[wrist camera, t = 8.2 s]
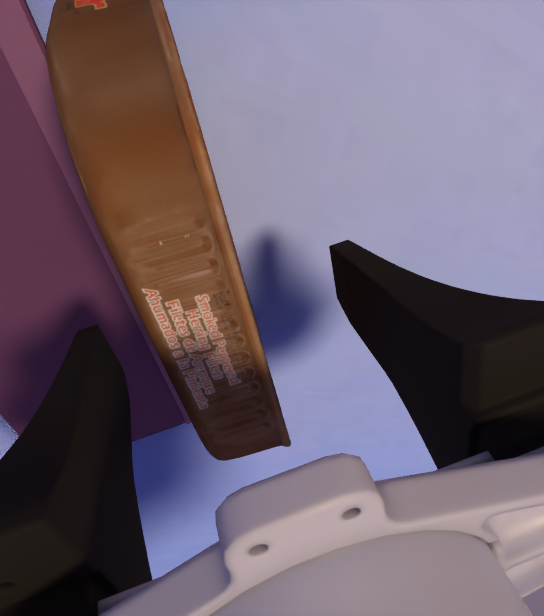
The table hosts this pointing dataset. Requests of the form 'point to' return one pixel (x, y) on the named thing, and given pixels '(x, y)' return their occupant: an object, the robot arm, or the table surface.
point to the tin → (163, 213)
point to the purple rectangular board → (57, 252)
